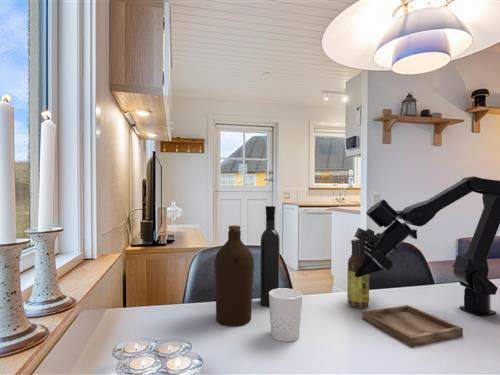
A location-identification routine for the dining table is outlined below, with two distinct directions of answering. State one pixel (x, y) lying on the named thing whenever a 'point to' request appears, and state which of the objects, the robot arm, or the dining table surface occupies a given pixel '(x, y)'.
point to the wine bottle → (269, 258)
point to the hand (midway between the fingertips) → (353, 273)
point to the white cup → (285, 314)
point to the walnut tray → (412, 325)
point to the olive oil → (233, 281)
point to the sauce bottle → (357, 285)
